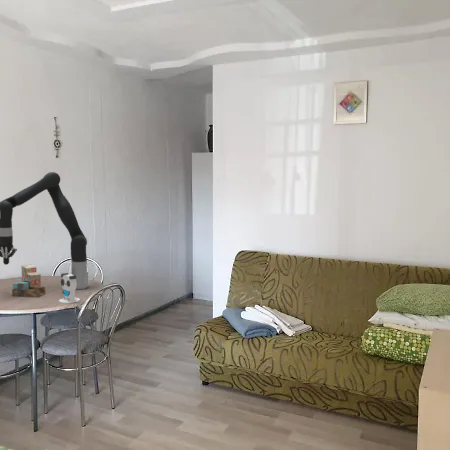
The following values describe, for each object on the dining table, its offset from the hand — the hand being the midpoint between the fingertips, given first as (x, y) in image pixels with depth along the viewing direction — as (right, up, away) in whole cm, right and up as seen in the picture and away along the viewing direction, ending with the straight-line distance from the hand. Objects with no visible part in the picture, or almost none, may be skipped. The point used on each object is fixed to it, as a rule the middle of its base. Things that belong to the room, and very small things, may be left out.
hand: (6, 264), depth 282 cm
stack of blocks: (+5, -16, +23) cm, 29 cm away
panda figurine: (+40, -20, -10) cm, 46 cm away
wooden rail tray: (+13, -18, +1) cm, 22 cm away
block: (+8, -17, +1) cm, 19 cm away
